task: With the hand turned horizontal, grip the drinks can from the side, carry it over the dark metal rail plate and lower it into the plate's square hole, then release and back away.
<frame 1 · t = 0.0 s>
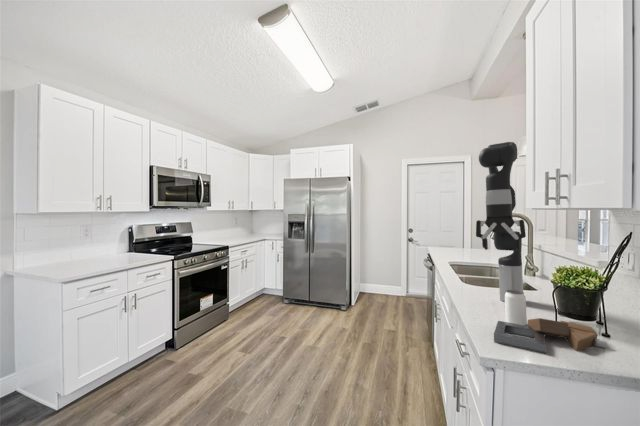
hand: (500, 249, 94), 29 cm above the worktop, fingers open, 8 cm apart
rail plate: (519, 339, 90), on the worktop
brown angular piece: (566, 343, 87), on the worktop, touching rail plate
can: (516, 324, 102), on the worktop
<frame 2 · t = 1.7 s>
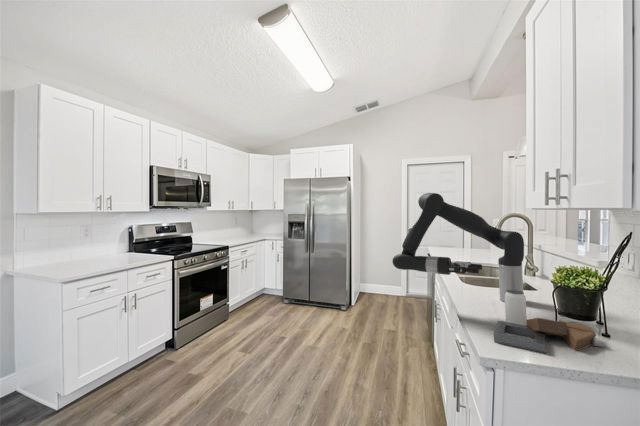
hand: (480, 268, 109), 20 cm above the worktop, fingers open, 8 cm apart
brown angular piece: (564, 343, 87), on the worktop
everything else where it was.
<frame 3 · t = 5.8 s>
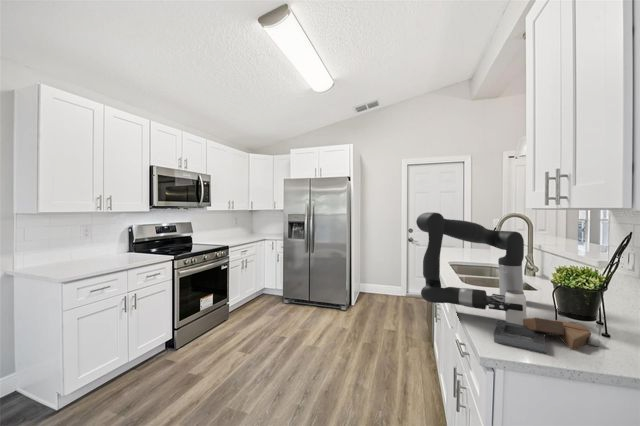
hand: (522, 305, 101), 7 cm above the worktop, fingers closed on can, 6 cm apart
brown angular piece: (561, 342, 88), on the worktop, touching rail plate
can: (516, 323, 102), on the worktop, touching gripper
when the fingers open (9 cm above the worktop, at t = 11.1 s): can drops 1 cm, resting in rail plate.
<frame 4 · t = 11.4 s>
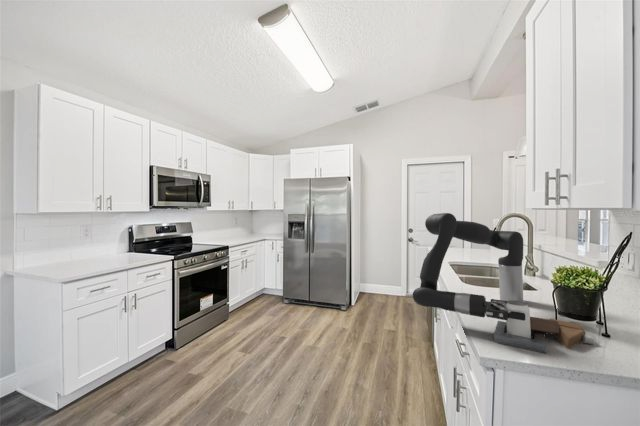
hand: (525, 313, 89), 9 cm above the worktop, fingers open, 8 cm apart
brown angular piece: (556, 341, 89), on the worktop
can: (518, 339, 90), resting in rail plate
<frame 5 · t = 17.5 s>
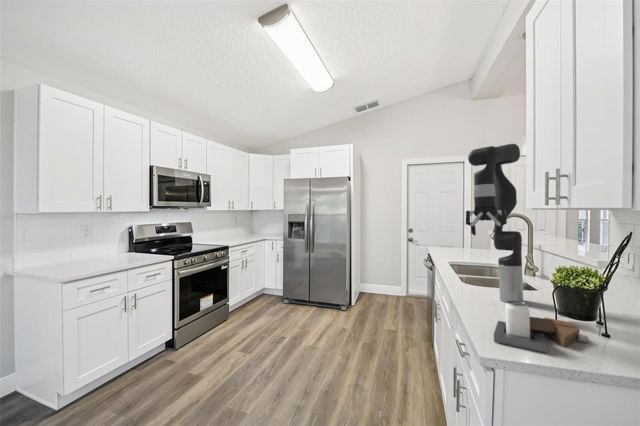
hand: (486, 235, 111), 33 cm above the worktop, fingers open, 8 cm apart
brown angular piece: (551, 340, 90), on the worktop, touching rail plate
everything else where it was.
at the end: can 0.4 cm off-centre on the rail plate, point 0.0 cm above the rail plate's base; can tilted 0°; the gripper is holding nothing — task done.
